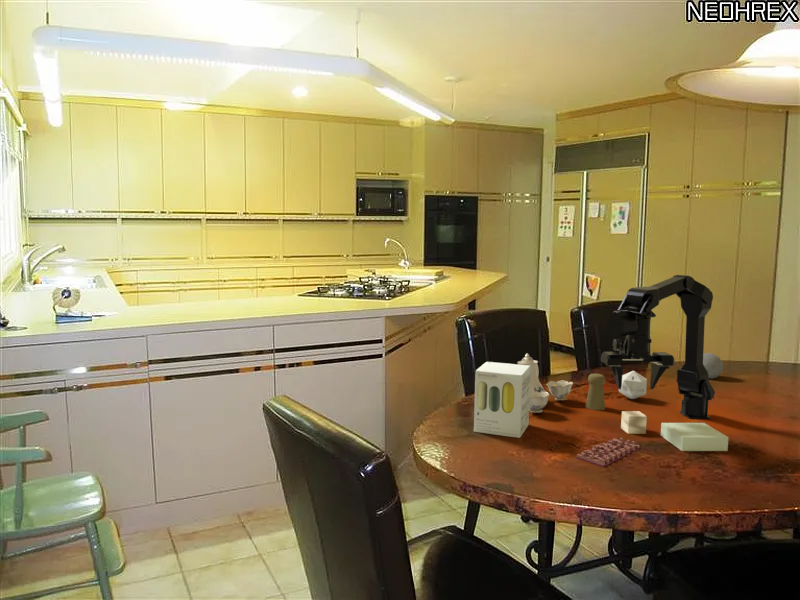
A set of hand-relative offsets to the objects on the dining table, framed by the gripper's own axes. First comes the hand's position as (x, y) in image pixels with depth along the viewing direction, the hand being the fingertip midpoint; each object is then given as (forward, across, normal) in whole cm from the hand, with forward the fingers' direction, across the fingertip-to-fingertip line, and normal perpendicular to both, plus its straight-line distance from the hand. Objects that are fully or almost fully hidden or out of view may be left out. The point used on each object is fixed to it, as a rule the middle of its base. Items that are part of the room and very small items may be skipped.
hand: (635, 388), depth 175 cm
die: (+12, -13, -32) cm, 37 cm away
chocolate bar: (+13, +13, +17) cm, 25 cm away
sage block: (+12, -12, +10) cm, 20 cm away
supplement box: (+12, +37, -2) cm, 39 cm away
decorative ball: (+12, -55, -62) cm, 84 cm away
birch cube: (+12, 0, 0) cm, 12 cm away
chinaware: (+12, +21, -24) cm, 34 cm away
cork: (+12, +3, -22) cm, 25 cm away
